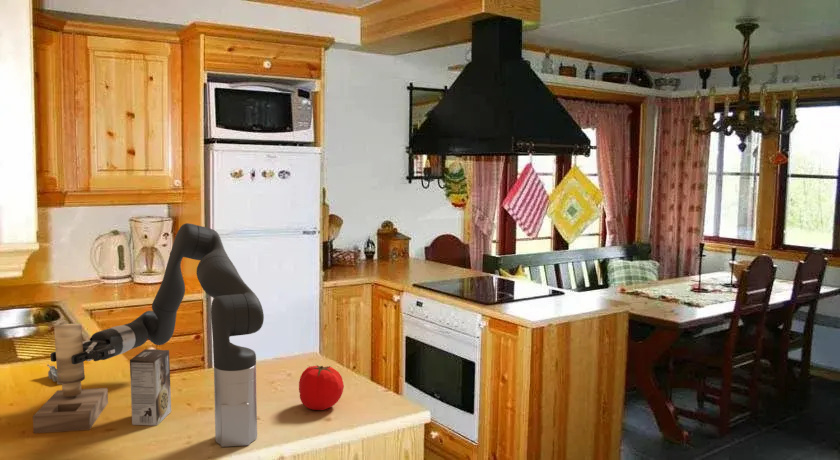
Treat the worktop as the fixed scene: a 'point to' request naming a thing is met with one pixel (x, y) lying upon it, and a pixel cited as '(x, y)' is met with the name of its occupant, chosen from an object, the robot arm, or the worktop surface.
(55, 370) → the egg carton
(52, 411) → the seat board
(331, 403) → the tomato
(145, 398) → the coffee box
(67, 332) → the stool leg
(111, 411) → the worktop surface
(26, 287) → the worktop surface
